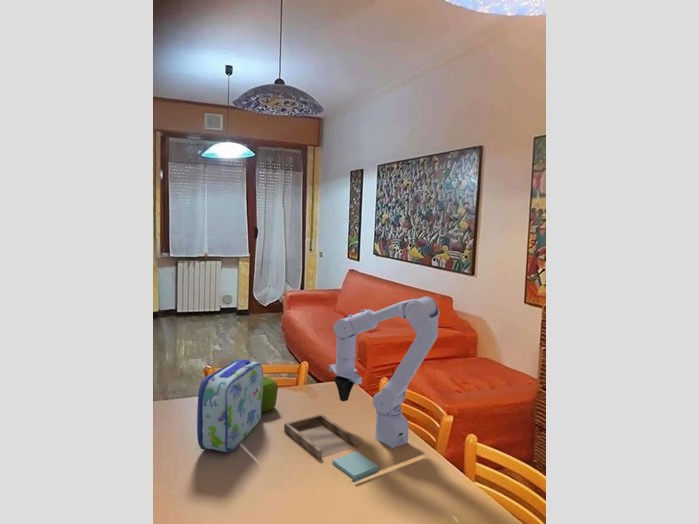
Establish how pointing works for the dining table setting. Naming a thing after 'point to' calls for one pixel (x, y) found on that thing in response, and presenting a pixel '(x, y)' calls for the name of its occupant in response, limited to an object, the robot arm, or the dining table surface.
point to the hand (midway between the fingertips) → (344, 400)
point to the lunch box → (229, 405)
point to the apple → (269, 394)
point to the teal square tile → (356, 466)
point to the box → (320, 435)
